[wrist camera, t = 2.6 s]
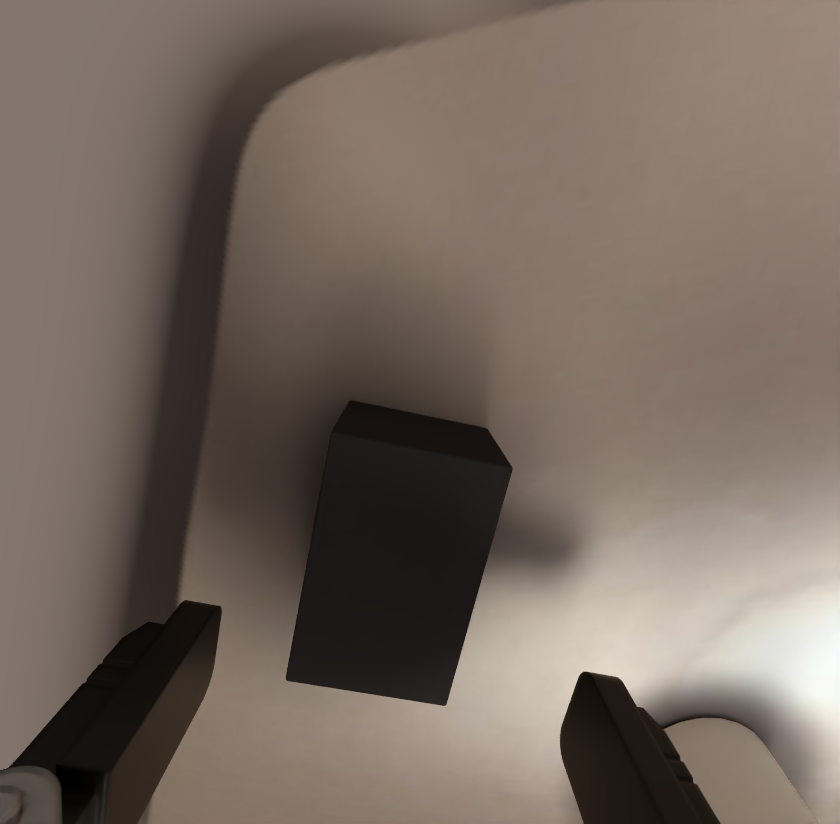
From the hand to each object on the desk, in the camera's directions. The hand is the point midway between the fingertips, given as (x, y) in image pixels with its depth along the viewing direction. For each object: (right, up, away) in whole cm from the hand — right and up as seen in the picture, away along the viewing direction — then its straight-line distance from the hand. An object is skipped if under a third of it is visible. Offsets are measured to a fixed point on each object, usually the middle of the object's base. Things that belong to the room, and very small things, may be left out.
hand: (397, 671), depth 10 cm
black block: (0, +2, +7) cm, 7 cm away
